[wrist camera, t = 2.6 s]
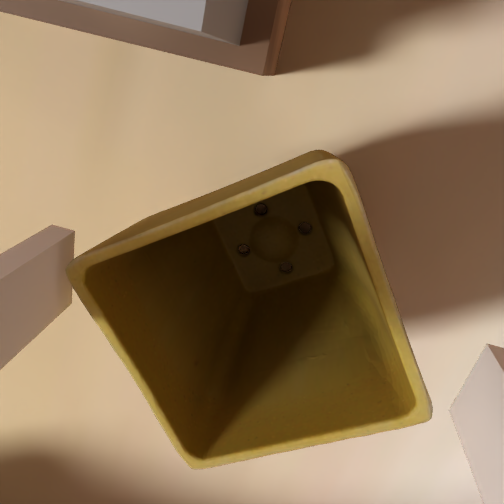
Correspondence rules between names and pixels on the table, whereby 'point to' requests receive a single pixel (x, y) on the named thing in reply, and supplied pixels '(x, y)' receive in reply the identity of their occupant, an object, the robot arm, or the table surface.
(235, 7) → the grey top slab
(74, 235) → the robot arm
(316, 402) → the flower pot
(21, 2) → the walnut base slab
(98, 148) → the table surface
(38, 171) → the table surface
